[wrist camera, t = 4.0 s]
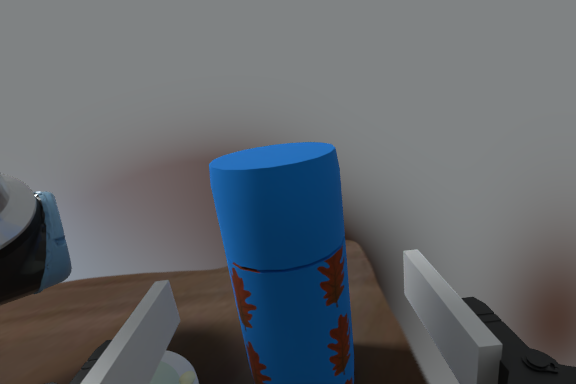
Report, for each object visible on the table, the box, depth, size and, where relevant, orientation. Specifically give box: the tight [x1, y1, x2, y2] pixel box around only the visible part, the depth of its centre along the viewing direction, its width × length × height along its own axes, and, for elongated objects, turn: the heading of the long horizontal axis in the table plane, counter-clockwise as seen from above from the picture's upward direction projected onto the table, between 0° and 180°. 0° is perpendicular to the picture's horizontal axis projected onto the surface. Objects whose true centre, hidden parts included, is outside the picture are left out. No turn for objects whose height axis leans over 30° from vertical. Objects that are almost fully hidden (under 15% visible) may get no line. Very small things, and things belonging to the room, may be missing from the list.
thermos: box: [209, 142, 354, 384], centre depth 28 cm, size 11×11×25 cm
